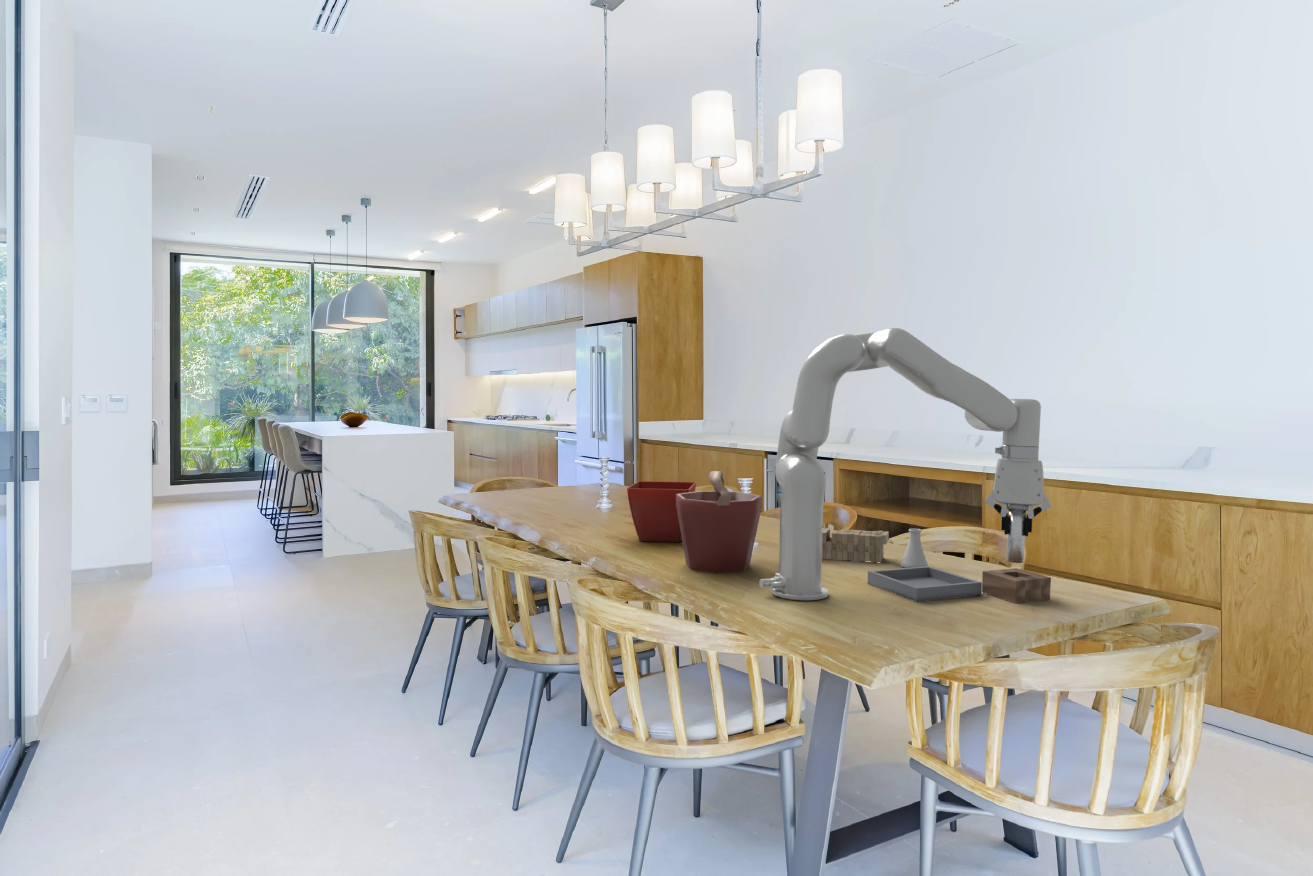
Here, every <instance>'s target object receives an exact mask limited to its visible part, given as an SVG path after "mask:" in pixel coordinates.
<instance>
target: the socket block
mask: <svg viewBox="0 0 1313 876" xmlns="http://www.w3.org/2000/svg"><path fill="white" fill-rule="evenodd" d="M981 580H982V581H981V582H982V591H981V593H982V592H983V593H982V594H985V593H987V594H986V595H988V596H992V597H995V598H997V599H1001V600H1003V599H1004V601H1006V600H1007V601H1006V602H1009V601H1010V602H1009V603H1012V602H1013V603H1012V604H1022V602H1024V603H1031V602H1032V601H1033V602H1041V601H1050V600H1051V587H1052V586H1051V581H1052V578H1051V577H1050V576H1047V575H1043V574H1039V573H1035V572H1032V571H1027V570H1024V569H1020V568H1017V567H1016V568H1004V569H1002V568H1001V569H994V570H992V569H991V570H983V571H982V579H981ZM1033 602H1032V603H1033Z"/></svg>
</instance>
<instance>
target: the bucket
mask: <svg viewBox="0 0 1313 876" xmlns="http://www.w3.org/2000/svg"><path fill="white" fill-rule="evenodd" d="M708 477H709V482H710V483H711V485H712V487H713V490H698V491H695V492H688V493H680V494H676V508H677V514H678V520H679V526H680V531H681V537H682V540H681V541H682V549H683V552H684V553H683V554H684V559H685V564H686V566H687V567H688V568H689V569H690V571H696V572H701V573H702V572H703V573H710V574H716V575H717V574H718V575H719V574H729V573H740V572H741V573H744V572H745V571H746V570H747V569H748V568H750V566H751V560H752V557H753V556H752V555H753V550H754V548H755V547H754V545H755V541H756V536H757V531H758V526H759V522H760V518H761V512H762V508H763V506H762V505H763V504H762V503H763V495H758V494H753V493H749V492H747V493H746V492H742V491H729V489H728V488H727V487H726V486H725V478H724V474H723V471H721V470H718V471H716V470H715V471H714V470H711V471H710V473H709V476H708Z"/></svg>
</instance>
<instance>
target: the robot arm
mask: <svg viewBox="0 0 1313 876" xmlns="http://www.w3.org/2000/svg"><path fill="white" fill-rule="evenodd" d="M886 367H889V368H890V369H892V370H893V371H894V372H896V373H897V374H898V375H900V376H902V377H903V378H905V380H907V381H909V382H911V384H913V385H914V386H916V387H917V388H918V389H919V390H921V391H922V392H924V393H926V394H927V395H929V396H932V397H934V398H937V399H940V400H942V401H945V402H949V403H951V404H953V405H956V407H958V408H961V409H962V410H964V418H965V421H966V422H967V424H968V425H969V426H970V427H972V428H973V429H976V430H979V431H985V432H986V431H987V432H997V433H998V432H999V433H1000V432H1002V445H1001V446H998V447H994V453H995V454H998V455H1000V456H1001V458H998V459H997V462H996V467H995V472H994V482H993V488H992V491H991V492H990V493H989V495H988V496H987V497H986V499H985V501H984V502H985V503H986V504H987V505H989V506H990V507H992V508H993V509H994V510H995V511H996V512H997V513H998V514H999V515H1000V516H1001V525H1000V526H1001V527H1000V529H1001V531H1003V532H1004V535H1006V536H1007V535H1008V520H1009V517H1008V514H1009V512H1008V509H1007V504H1016V505H1028V510H1026V519H1025V537H1029V533H1030V534H1031V533H1032V532H1033V519H1034V518H1035V517H1036V516H1037V515H1039V514H1040V513H1042V512H1043V511H1045V510H1048V509H1051V507H1052V504H1051V502H1050V501H1049V499H1048V498H1047V495H1046V494H1045V492H1044V486H1045V485H1044V467H1043V462H1042V460H1039V455H1040V454H1039V449H1040V431H1041V430H1040V429H1041V411H1042V410H1041V409H1042V407H1041V403H1040V401H1039V400H1037V399H1030V398H1008V397H1007V396H1006V395H1005V394H1003V393H1002V392H1001V391H999V390H998V389H996V388H995V387H993V386H992V385H991V384H990V383H988V382H986V381H985V380H983V379H982V378H980V377H978V376H977V375H974V374H973V373H971V372H968V371H967V370H965V369H964V368H962V367H961V366H958V365H956V364H954V363H953V362H951V361H949V360H948V359H946V358H944V357H943V356H942V355H941V354H940V353H938V352H936V351H935V350H934V349H932V348H931V347H930V346H928V345H926V344H925V343H924V342H922V341H921V340H920V339H918V338H917V337H915V336H914V335H913V334H911V333H910V332H908V331H907V330H905V329H902V328H900V327H891V328H888V329H884V330H880V331H873V332H870V333H869V332H868V333H863V334H856V335H854V334H849V333H844V334H839V335H837V336H834V337H830V338H828V339H827V340H825V341H824V342H822V343H821V344H819V346H817V347H815V349H813V351H812V352H811V353H810V354H809V356H808V357H807V358H806V360H805V361H804V363H803V364H802V367H801V370H799V371H800V372H799V374H798V377H797V382H796V387H795V388H796V389H795V393H794V399H793V405H792V410H790V411H789V412H787V414H786V415H785V416H784V418H783V419H782V423H781V426H780V431H779V436H778V437H779V439H778V444H777V452H776V458H775V468H774V471H775V472H774V473H775V479H776V481H777V483H778V484H779V486H780V487H781V494H780V495H781V497H780V507H779V508H780V509H779V556H778V557H779V559H778V560H779V563H778V565H779V567H778V572H774V576H772V577H771V578H760V579H759V582H758V584H759V588H761V589H762V588H770V589H771V593H772V594H773V595H774V596H775V597H779V598H781V599H785V600H792V601H819V600H823V599H825V598H827V597H828V596H829V590H828V589H827V588H826V587H825V586H823V585H822V572H823V570H822V566H823V564H822V563H823V562H822V561H823V559H822V528H824V525H823V524H824V523H823V522H824V521H823V518H824V515H823V514H824V504H825V503H824V502H825V494H826V484H827V481H826V480H827V479H826V473H825V471H824V468H823V466H822V465H821V463H820V462H819V461H818V460H817V458H818V452H819V448H820V447H821V446H823V445H824V444H825V443H826V441H827V440H828V438H829V437H828V436H829V434H830V433H829V432H830V425H831V418H832V409H833V402H834V398H835V392H836V388H837V385H838V383H839V381H840V380H841V379H842V377H843V376H844V375H845V374H846V373H851V372H860V371H867V370H873V369H879V368H886ZM1000 504H1002V505H1000ZM1034 506H1036V507H1035V508H1034Z"/></svg>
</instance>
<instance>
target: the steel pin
mask: <svg viewBox="0 0 1313 876" xmlns="http://www.w3.org/2000/svg"><path fill="white" fill-rule="evenodd" d="M1007 510H1008V517H1009V520H1008V534H1007V535H1006V537H1007V540H1006V557H1005V559H1006V560H1005V561H1006V562H1008V563H1013V564H1014V563H1015V564H1023V563H1024V562H1025V560H1024V559H1025V541H1026V536H1025V519H1026V517H1027V510H1028V505H1016V504H1007Z"/></svg>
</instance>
